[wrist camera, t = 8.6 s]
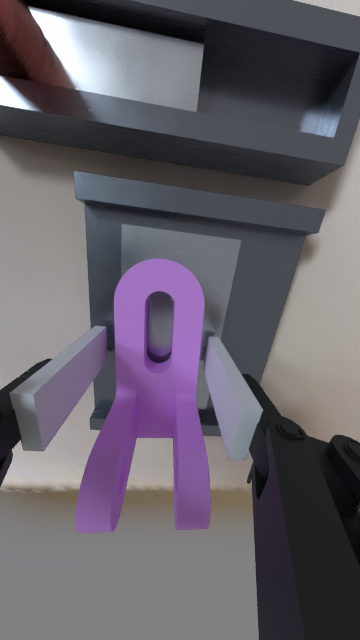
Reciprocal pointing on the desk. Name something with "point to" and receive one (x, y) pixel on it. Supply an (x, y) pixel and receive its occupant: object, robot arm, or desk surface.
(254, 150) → the frame
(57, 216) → the desk surface
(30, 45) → the lever
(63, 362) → the robot arm
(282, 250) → the press bed
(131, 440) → the bracket
